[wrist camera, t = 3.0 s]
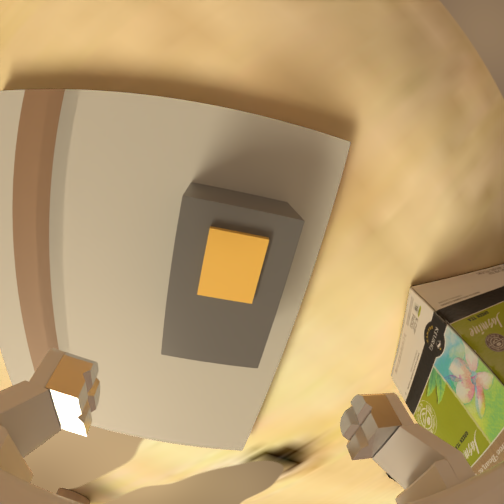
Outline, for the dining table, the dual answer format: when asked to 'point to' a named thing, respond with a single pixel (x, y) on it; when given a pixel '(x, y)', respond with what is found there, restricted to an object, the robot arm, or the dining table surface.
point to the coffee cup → (72, 495)
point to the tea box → (457, 363)
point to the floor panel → (141, 245)
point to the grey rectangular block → (227, 274)
